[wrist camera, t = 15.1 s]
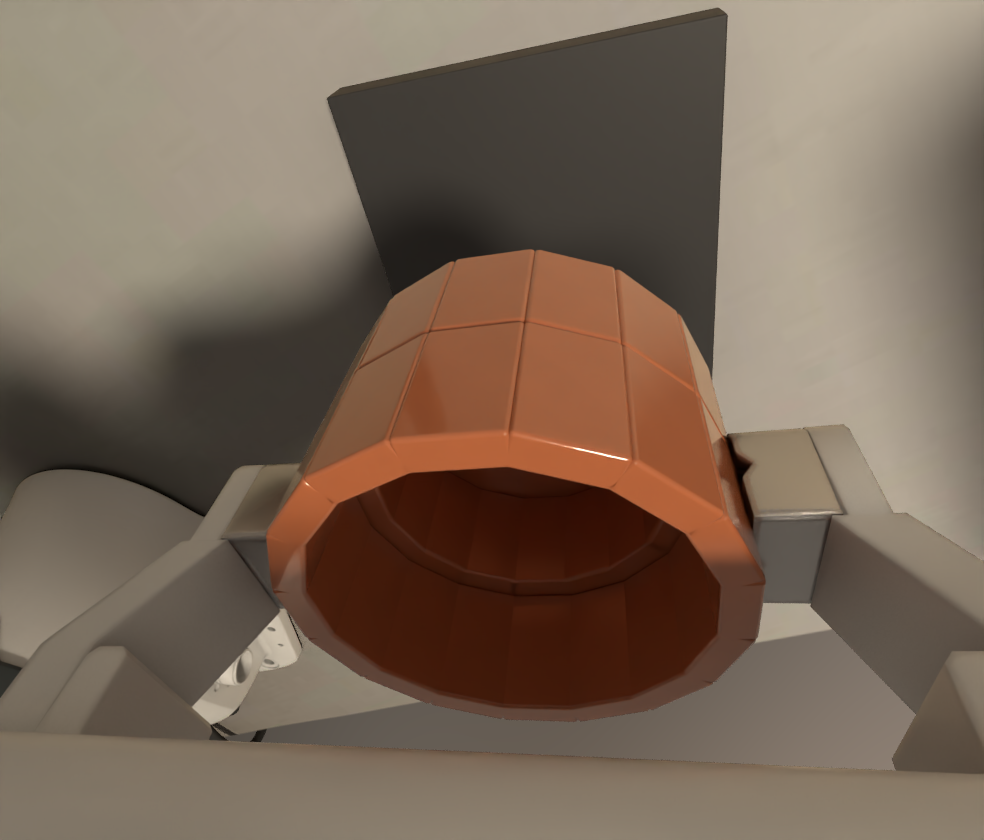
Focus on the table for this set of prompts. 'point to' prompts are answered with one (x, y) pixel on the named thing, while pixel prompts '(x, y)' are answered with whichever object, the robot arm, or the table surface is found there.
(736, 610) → the terracotta cup
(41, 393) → the table surface
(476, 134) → the scale
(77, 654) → the robot arm
